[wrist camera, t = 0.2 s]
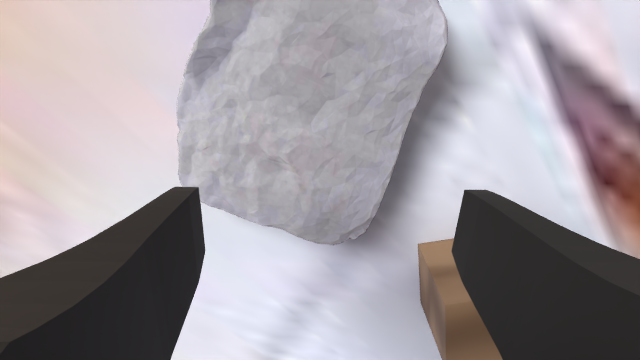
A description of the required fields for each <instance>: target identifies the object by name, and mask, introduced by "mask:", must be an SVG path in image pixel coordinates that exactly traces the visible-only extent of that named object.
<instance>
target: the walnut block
mask: <svg viewBox="0 0 640 360" xmlns="http://www.w3.org/2000/svg"><path fill="white" fill-rule="evenodd" d="M453 241H454V239H448V240H442V241H435V242H428V243H422V244H418V257H419V277H420V297H421V305H422V307H423V310H424V313H425V315H426V318H427V320H428V323H429V326H430V328H431V331H432V334H433V336H434V339H435V342H436V344H437V347H438V350H439V352H440V355H441V358H442V360H503V359H502V357H501V355H500V353H499V351H498V349H497V347H496V345H495V343H494V341H493V340H492V338H491V336H490V334H489V332H488V330H487V328H486V326H485V325H484V323H483V321H482V319H481V317H480V315H479V313H478V312H477V310H476V308H475V306H474V304H473V302H472V300H471V298H470V296H469V294H468V293H467V291H466V289H465V287H464V285H463V283H462V280H461V278H460V275H459V272H458V270H457V267H456V264H455V261H454V258H453V255H452V252H451V251H452V246H453Z"/></svg>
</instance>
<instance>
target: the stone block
mask: <svg viewBox="0 0 640 360" xmlns="http://www.w3.org/2000/svg"><path fill="white" fill-rule="evenodd" d="M447 34H448V27H447V20H446V17H445V15H444V12H443V10H442V8H441V6H440V5H439V1H438V0H210V13H209V15H208V18H207V20H206V22H205V25H204V27H203V29H202V31H201V33H200V34H199V36H198V37H197V39H196V41H195V43H194V45H193V49H192V51H191V54H190V56H189V59H188V61H187V64H186V67H185V71H184V75H183V76H184V78H183V81H182V84H181V87H180V91H179V94H178V98H177V121H178V127H179V130H180V131H179V133H178V139H177V143H178V147H179V167H178V175H179V180H180V183H181V185H182V186H183V187H199V195H200V201H201V202H202V203H205V204H207V205H208V206H211V207H215V208H218V209H222V210H224V211H226V212H229V213H231V214H234V215H236V216H239V217H241V218H244V219H247V220H249V221H252V222H255V223H258V224H260V225H262V226H270V227H275V228H280V229H283V230H285V231H287V232H289V233H291V234H293V235H295V236H297V237H300V238H303V239H305V240H308V241H312V242H315V243H319V244H330V245H335V244H339V243H342V242H344V241H346V240H347V239H349V238H350V239H353V240H354V239H356V238H357V237H359V236H360V235H362V234H363V233H365V232H366V230H367V228H368V227H369V225H370V223H371V221H372V219H373V218H374V216H375V214H376V212H377V210H378V208H379V206H380V204H381V201H382V198H383V195H384V193H385V190H386V187H387V185H388V183H389V181H390V178H391V175H392V173H393V170H394V167H395V164H396V161H397V158H398V155H399V151H400V148H401V144H402V141H403V138H404V135H405V132H406V129H407V126H408V124H409V121H410V118H411V116H412V113H413V111H414V109H415V107H416V106H417V104H418V102H419V100H420V97H421V94H422V91H423V89H424V87H425V86H426V84H427V83H428V81H429V79H430V78H431V76H432V75H433V73H434V72H435V70H436V69H437V67H438V65H439V63H440V60H441V57H442V55H443V53H444V50H445V47H446V44H447Z"/></svg>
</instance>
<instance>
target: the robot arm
mask: <svg viewBox="0 0 640 360" xmlns="http://www.w3.org/2000/svg"><path fill="white" fill-rule="evenodd" d="M451 252H452V255H453V258H454V261H455V264H456V267H457V270H458V272H459V275H460V278H461V280H462V283H463V285H464V287H465V289H466V291H467V293H468V294H469V296H470V298H471V300H472V302H473V304H474V306H475V308H476V310H477V312H478V313H479V315H480V317H481V319H482V321H483V323H484V325H485V326H486V328H487V330H488V332H489V334H490V336H491V338H492V340H493V341H494V343H495V345H496V347H497V349H498V351H499V353H500V355H501V357H502V359H503V360H640V259H637V258H635V257H632V256H630V255H627V254H624V253H622V252H619V251H617V250H614V249H611V248H609V247H607V246H604V245H602V244H599V243H597V242H595V241H593V240H590V239H588V238H586V237H584V236H582V235H579V234H577V233H575V232H573V231H571V230H569V229H567V228H564V227H562V226H560V225H558V224H556V223H554V222H552V221H550V220H548V219H546V218H544V217H542V216H540V215H538V214H536V213H534V212H532V211H531V210H529V209H527V208H525V207H523V206H521V205H519V204H517V203H515V202H513V201H511V200H509V199H507V198H505V197H502V196H500V195H498V194H496V193H493V192H490V191H488V190H464V195H463V199H462V204H461V209H460V213H459V218H458V223H457V227H456V232H455V237H454V241H453V246H452V251H451ZM204 255H205V244H204V234H203V224H202V214H201V204H200V195H199V187H174V188H172V189H170V190H168V191H167V192H165V193H163V194H162V195H160V196H159V197H157V198H156V199H154V200H153V201H151V202H150V203H148V204H147V205H145V206H143V207H142V208H140V209H139V210H137V211H136V212H134V213H133V214H131V215H130V216H128V217H126V218H125V219H123V220H122V221H120V222H118V223H116V224H115V225H113V226H111V227H110V228H108V229H106V230H104V231H103V232H101V233H99V234H98V235H96V236H94V237H92V238H91V239H89V240H87V241H85V242H83V243H81V244H79V245H77V246H75V247H73V248H71V249H69V250H67V251H65V252H62V253H60V254H58V255H56V256H54V257H52V258H50V259H47V260H45V261H43V262H40V263H38V264H35V265H33V266H30V267H28V268H25V269H22V270H20V271H17V272H15V273H12V274H10V275H7V276H5V277H2V278H0V360H170V359H171V356H172V353H173V351H174V348H175V345H176V343H177V340H178V337H179V335H180V332H181V329H182V326H183V324H184V321H185V318H186V316H187V313H188V310H189V308H190V305H191V302H192V299H193V297H194V294H195V291H196V288H197V285H198V283H199V278H200V274H201V269H202V264H203V259H204Z"/></svg>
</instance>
